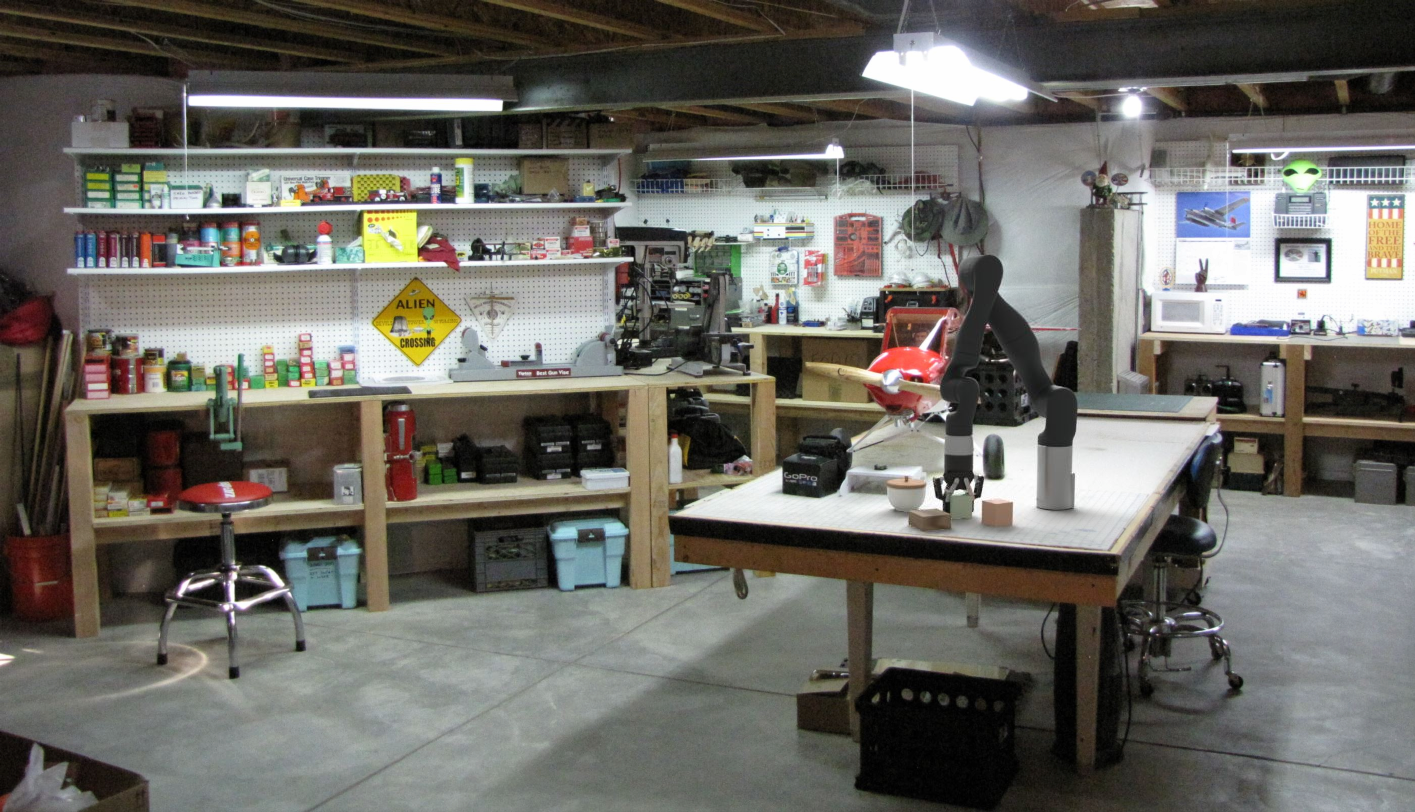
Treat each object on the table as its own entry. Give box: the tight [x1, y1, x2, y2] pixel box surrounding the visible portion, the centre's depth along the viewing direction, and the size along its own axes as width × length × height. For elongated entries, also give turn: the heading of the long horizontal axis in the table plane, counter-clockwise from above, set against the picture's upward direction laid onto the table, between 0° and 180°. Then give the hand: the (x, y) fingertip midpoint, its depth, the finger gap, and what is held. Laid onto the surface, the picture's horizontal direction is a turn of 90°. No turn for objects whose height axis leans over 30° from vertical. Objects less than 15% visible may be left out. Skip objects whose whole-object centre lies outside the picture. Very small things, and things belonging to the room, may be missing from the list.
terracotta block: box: [981, 498, 1014, 527], centre depth 315 cm, size 6×6×6 cm
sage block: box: [949, 491, 973, 520], centre depth 325 cm, size 6×6×6 cm
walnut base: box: [907, 508, 952, 532], centre depth 313 cm, size 8×8×4 cm
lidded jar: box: [886, 475, 927, 513], centre depth 334 cm, size 11×11×9 cm
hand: (958, 514), depth 325 cm, fingers closed on sage block, 5 cm apart
